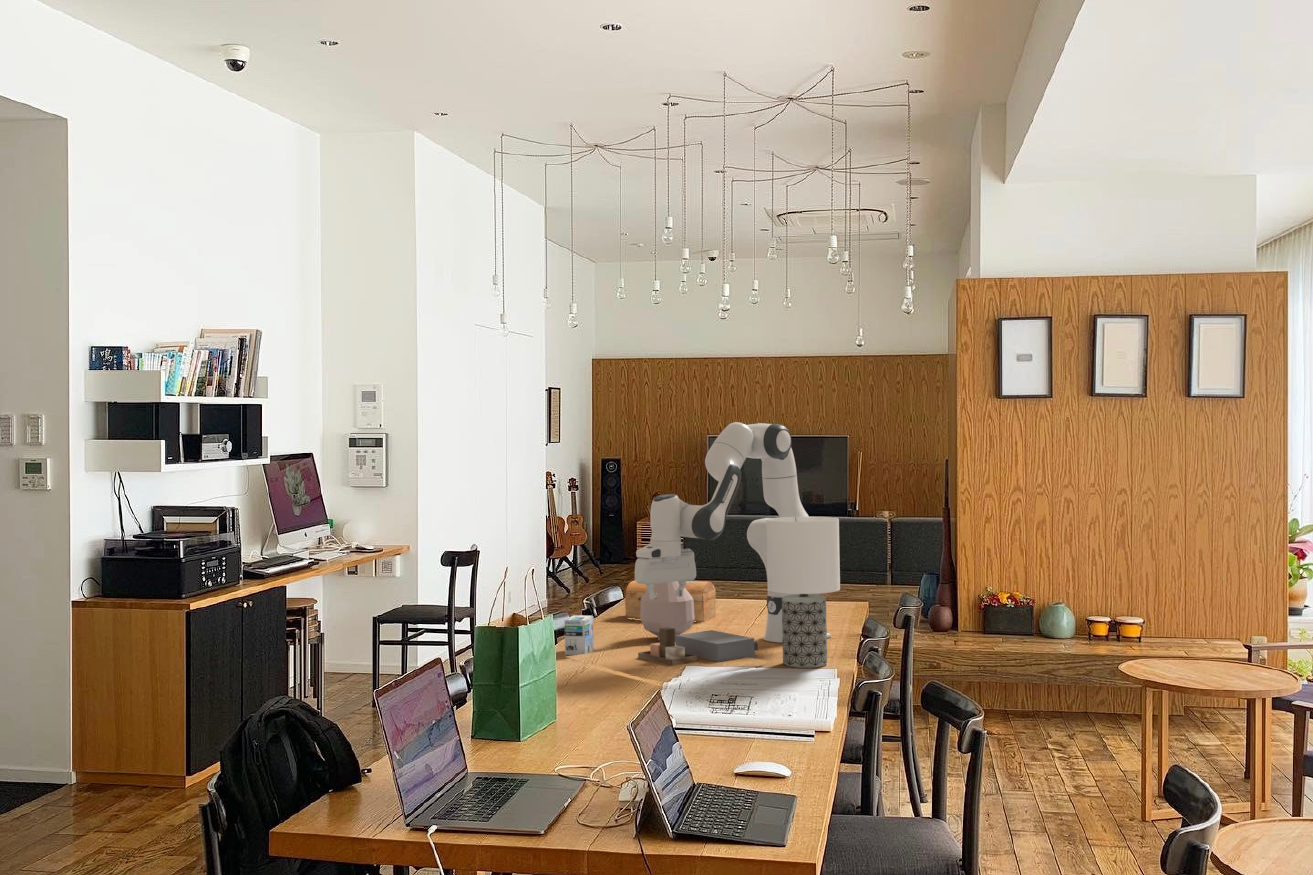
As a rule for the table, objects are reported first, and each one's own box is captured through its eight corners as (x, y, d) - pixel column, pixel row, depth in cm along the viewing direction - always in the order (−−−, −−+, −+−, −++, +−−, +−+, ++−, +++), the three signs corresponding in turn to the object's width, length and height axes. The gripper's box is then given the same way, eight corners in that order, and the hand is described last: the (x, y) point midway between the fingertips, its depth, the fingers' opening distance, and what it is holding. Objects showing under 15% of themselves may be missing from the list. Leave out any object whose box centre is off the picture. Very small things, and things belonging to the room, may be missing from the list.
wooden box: (717, 616, 430) (717, 578, 430) (703, 623, 415) (702, 584, 415) (641, 613, 441) (641, 576, 441) (624, 620, 425) (624, 582, 425)
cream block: (676, 659, 342) (676, 645, 342) (685, 660, 339) (684, 647, 339) (665, 660, 339) (665, 647, 339) (674, 662, 336) (673, 648, 336)
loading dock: (714, 649, 363) (714, 629, 363) (757, 658, 347) (757, 637, 347) (675, 655, 354) (675, 635, 354) (717, 664, 338) (717, 643, 338)
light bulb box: (585, 655, 356) (585, 620, 356) (564, 655, 357) (563, 619, 357) (594, 649, 366) (593, 614, 366) (573, 649, 368) (573, 614, 368)
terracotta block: (661, 655, 348) (661, 642, 348) (669, 657, 344) (669, 643, 344) (650, 657, 345) (650, 643, 345) (658, 659, 342) (658, 645, 342)
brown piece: (664, 658, 351) (664, 623, 351) (698, 666, 338) (697, 629, 339) (637, 662, 345) (637, 627, 345) (671, 670, 332) (670, 633, 333)
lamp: (848, 669, 327) (846, 520, 327) (775, 672, 325) (772, 522, 325) (832, 656, 347) (830, 515, 347) (763, 658, 346) (761, 517, 346)
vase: (673, 645, 370) (671, 550, 370) (629, 640, 380) (628, 548, 380) (705, 637, 384) (703, 546, 384) (662, 633, 394) (660, 544, 394)
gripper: (687, 547, 351) (687, 593, 351) (631, 551, 339) (631, 599, 338) (700, 548, 346) (701, 595, 345) (644, 552, 333) (644, 601, 333)
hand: (666, 597), depth 342 cm, fingers open, 8 cm apart
